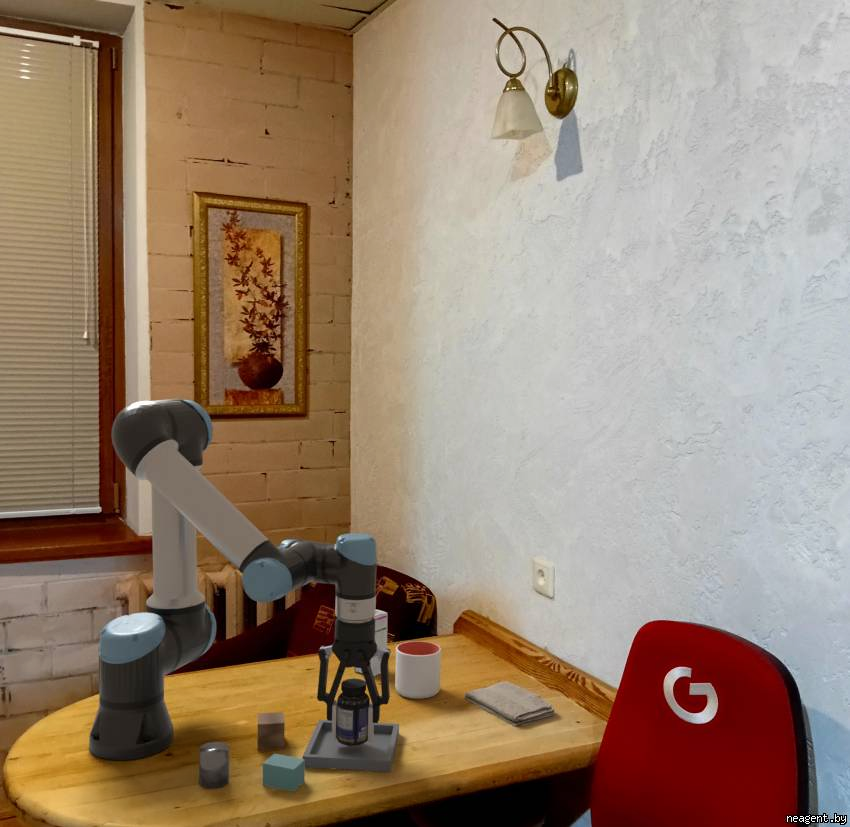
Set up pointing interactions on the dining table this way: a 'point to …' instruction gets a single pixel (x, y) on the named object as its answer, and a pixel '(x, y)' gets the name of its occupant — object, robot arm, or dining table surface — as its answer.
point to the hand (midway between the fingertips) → (352, 737)
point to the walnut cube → (270, 730)
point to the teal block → (283, 772)
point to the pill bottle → (352, 713)
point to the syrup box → (378, 641)
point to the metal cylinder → (214, 765)
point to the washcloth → (511, 703)
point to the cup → (417, 669)
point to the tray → (352, 749)
